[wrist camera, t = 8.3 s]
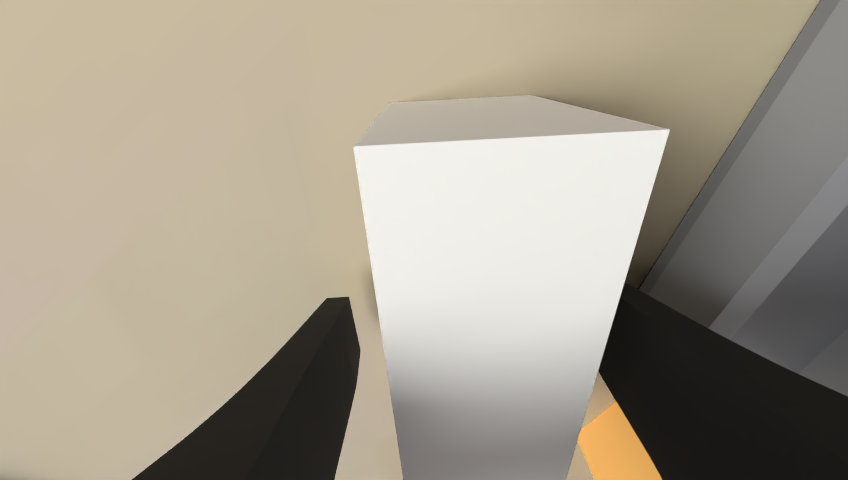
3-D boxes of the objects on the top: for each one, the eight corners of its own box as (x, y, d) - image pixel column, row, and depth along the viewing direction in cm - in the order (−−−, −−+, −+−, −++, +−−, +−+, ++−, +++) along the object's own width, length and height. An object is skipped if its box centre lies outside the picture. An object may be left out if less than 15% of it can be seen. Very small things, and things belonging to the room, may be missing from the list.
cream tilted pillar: (504, 356, 12) (553, 522, 8) (413, 360, 12) (410, 528, 8) (529, 94, 8) (669, 129, 3) (390, 102, 8) (353, 145, 3)
